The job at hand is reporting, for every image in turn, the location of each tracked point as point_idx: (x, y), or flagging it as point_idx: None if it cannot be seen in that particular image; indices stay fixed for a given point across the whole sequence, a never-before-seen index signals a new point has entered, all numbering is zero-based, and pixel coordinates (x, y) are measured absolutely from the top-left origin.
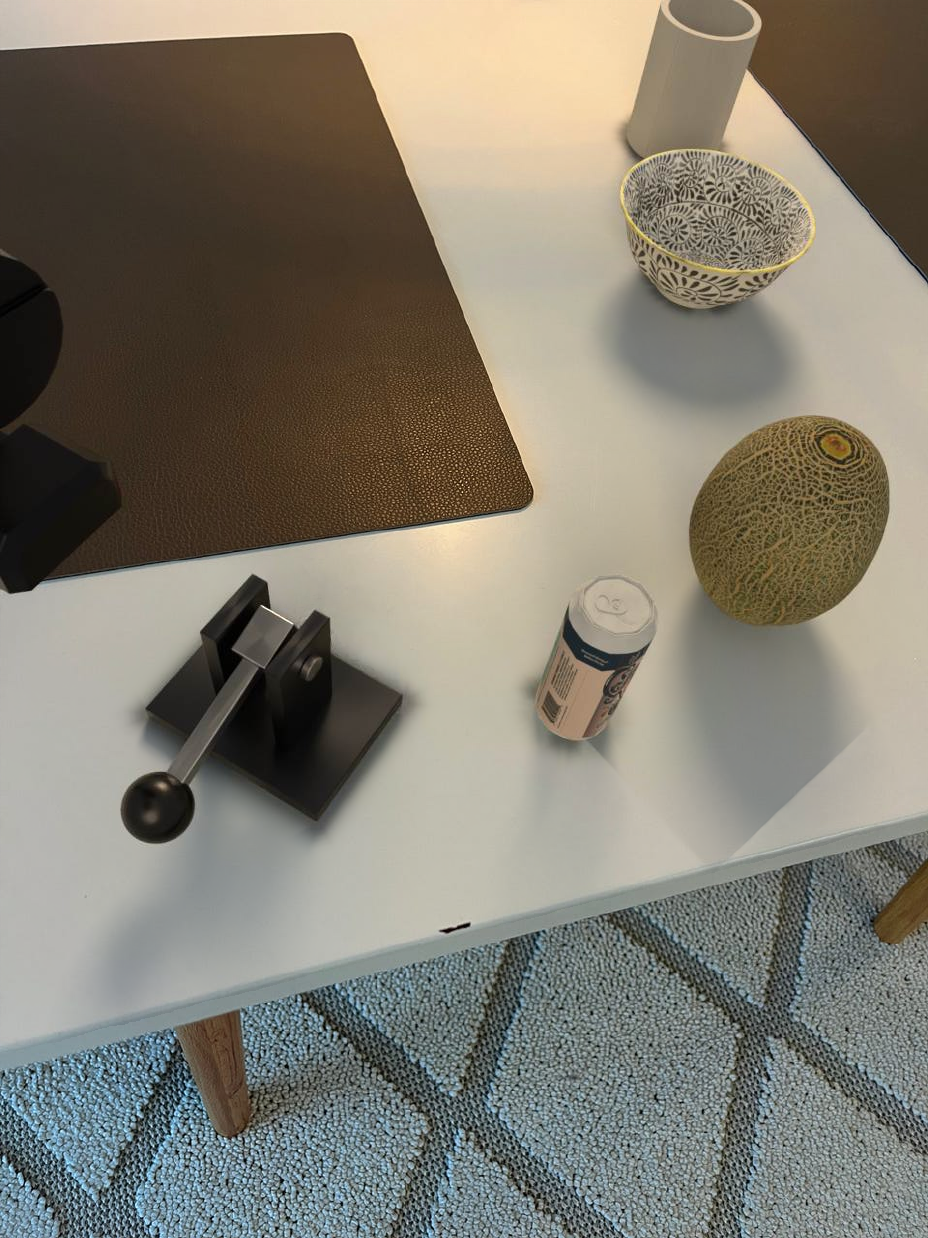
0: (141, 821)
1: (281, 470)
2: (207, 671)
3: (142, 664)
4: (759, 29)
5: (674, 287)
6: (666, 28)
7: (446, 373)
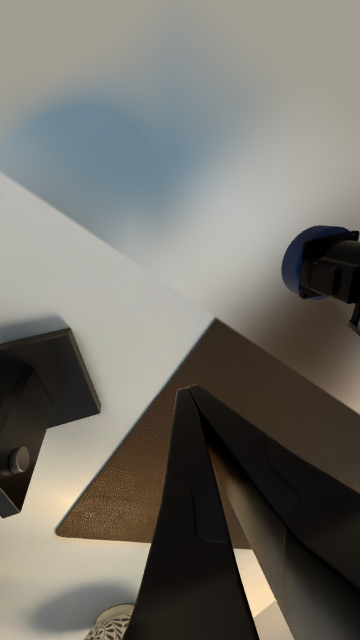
0: None
1: (166, 456)
2: (66, 376)
3: (109, 344)
4: None
5: (105, 634)
6: None
7: (154, 530)
